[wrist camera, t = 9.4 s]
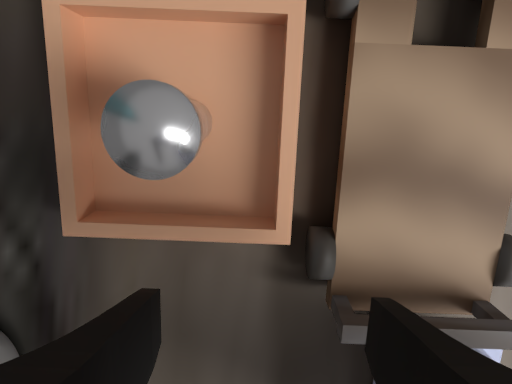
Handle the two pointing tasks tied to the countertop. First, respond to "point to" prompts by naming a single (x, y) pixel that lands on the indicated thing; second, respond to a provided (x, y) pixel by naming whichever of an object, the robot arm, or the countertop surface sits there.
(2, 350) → the pump dispenser
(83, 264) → the countertop surface
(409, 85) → the trolley
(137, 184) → the tray
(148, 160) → the pin
